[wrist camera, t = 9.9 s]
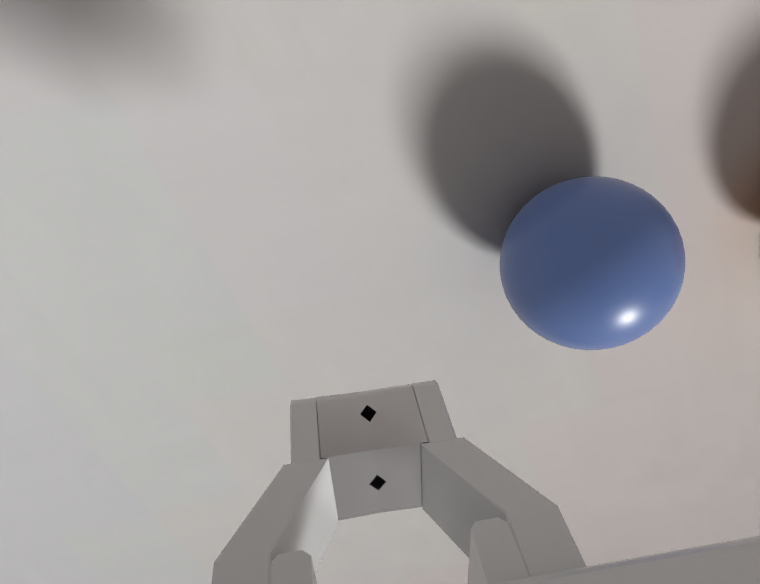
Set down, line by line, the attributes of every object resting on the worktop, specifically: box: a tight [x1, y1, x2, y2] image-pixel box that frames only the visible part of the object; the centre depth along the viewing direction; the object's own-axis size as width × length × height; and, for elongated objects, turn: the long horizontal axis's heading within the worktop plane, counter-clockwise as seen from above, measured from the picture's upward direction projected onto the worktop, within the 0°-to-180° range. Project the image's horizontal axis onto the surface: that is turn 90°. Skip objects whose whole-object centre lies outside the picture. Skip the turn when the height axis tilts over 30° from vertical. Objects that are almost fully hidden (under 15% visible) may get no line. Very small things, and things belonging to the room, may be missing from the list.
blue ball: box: [500, 176, 685, 350], centre depth 16 cm, size 5×5×5 cm
